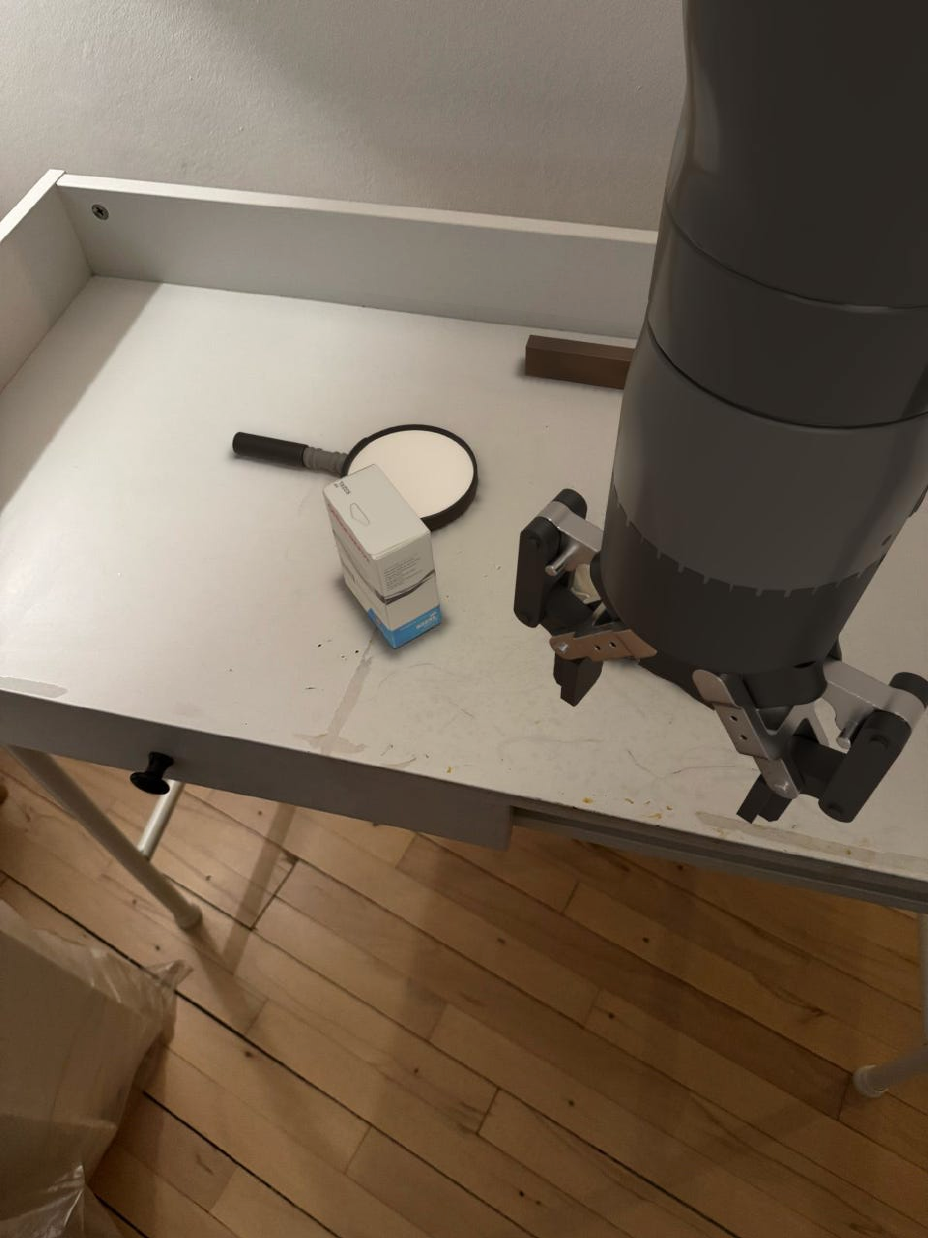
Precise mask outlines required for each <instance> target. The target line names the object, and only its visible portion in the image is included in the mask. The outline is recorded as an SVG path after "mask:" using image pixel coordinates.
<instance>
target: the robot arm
mask: <svg viewBox="0 0 928 1238" xmlns="http://www.w3.org/2000/svg"><path fill="white" fill-rule="evenodd" d="M681 14H682V31H683V32H682V33H683V46H684V55H685V56H684V57H685V59H684V61H685V72H686V73H685V77H686V78H685V79H686V82H685V91H684V97H683V102H682V107H681V111H680V116H679V120H678V124H677V127H676V132H675V136H674V140H673V145H672V150H671V155H670V160H669V166H668V170H667V174H666V181H665V187H664V192H663V200H662V206H661V213H660V218H659V225H658V231H657V238H656V243H655V244H656V245H655V251H654V258H653V264H652V270H651V277H650V282H649V283H650V284H649V289H648V297H647V305H646V308H645V313H644V318H643V322H642V326H641V329H640V333H639V334H638V338H637V341H636V345H635V347H634V348H635V350H634V353H633V357H632V360H631V364H630V367H629V371H628V374H627V378H626V382H625V387H624V389H623V392H622V399H621V406H620V412H619V419H618V426H617V433H616V439H615V440H616V441H615V447H614V455H613V461H612V462H613V463H612V469H611V477H610V483H609V491H608V497H607V503H606V511H605V519H604V524H603V529H601V528H600V527H598V526H596V525H594V523H591V522H590V521H588V520H586V519H587V514H588V504H587V501H586V499H584V497H583V496H582V494H580V493H579V492H578V491H576V490H575V489H572V488H563V489H561V491H559V493H558V494H556V495H555V496H554V498H552V500H550V501H549V503H548V504H547V505H546V506H545V507H544V508H543V509H542V510H541V511H539V513H538V514H537V515H536V516H535V517H534V518H533V519H532V520H531V521H530V522H529V523H528V524H527V525H525V527H524V528H523V529H522V530H521V531H520V534H519V542H518V551H517V552H518V553H517V554H518V555H517V563H516V564H517V566H516V575H515V586H514V587H515V588H514V599H513V608H512V609H513V614H514V615H515V617H516V618H517V619H518V621H519V622H520V623H521V624H523V625H524V626H526V627H528V628H531V629H536V628H538V626H539V625H540V626H541V627H542V628H543V629H544V630H546V631H547V632H548V633H549V635H550V636H551V637H550V638H549V639H548V643H549V646H550V648H551V649H552V651H553V652H554V659H553V669H552V670H553V671H552V676H553V678H554V681H555V683H556V684H557V685H558V686H560V693H559V695H560V696H559V698H560V699H561V700H562V701H564V702H565V703H567V704H568V705H570V706H572V707H573V708H575V707H577V706H578V705H579V704H580V703H581V701H582V700H583V699H584V697H585V696H586V695H587V694H588V693H589V691H590V690H591V689H592V688H593V686H594V685H595V684H596V683H597V682H598V681H599V678H600V677H601V674H602V671H603V666H604V662H607V661H612V660H617V659H622V658H629V657H633V658H634V660H638V666H640V667H641V668H643V669H645V670H646V671H648V672H650V673H651V674H653V675H655V676H656V677H657V678H658V677H659V678H661V679H663V680H666V681H668V682H669V683H672V684H674V685H676V686H677V687H679V688H680V689H681V690H683V691H684V692H685V693H686V694H687V695H689V696H690V697H692V699H694V700H695V701H697V702H698V703H700V704H701V705H704V706H705V707H707V708H709V710H711V711H715V712H716V714H717V716H718V718H719V720H720V722H721V724H722V725H723V727H724V729H725V731H726V733H727V735H728V737H729V738H730V740H731V743H732V744H733V746H734V748H735V750H736V752H737V753H738V754H739V755H744V756H748V757H752V758H753V760H754V762H755V764H756V766H757V768H758V770H759V772H760V774H759V775H758V776H757V778H756V779H755V781H754V782H753V784H752V786H751V788H750V790H749V791H748V793H747V794H746V796H745V798H744V800H743V801H742V803H741V805H740V806H739V808H738V810H737V812H736V813H735V815H736V816H738V817H739V818H741V819H743V820H744V821H746V822H747V823H748V824H750V825H753V823H754V822H755V820H756V818H757V817H758V816H759V817H760V818H762V819H763V820H765V821H767V822H768V823H772V822H778V821H779V820H780V818H781V817H782V815H783V814H784V812H785V811H786V810H787V809H788V807H789V806H790V804H791V803H792V801H793V800H795V799H797V798H798V796H799V795H805V796H809V797H811V798H815V799H817V800H818V801H817V805H818V807H819V809H820V810H821V812H823V814H825V815H826V816H828V817H829V818H830V819H832V820H834V821H836V822H839V823H843V824H851V823H852V822H854V820H855V818H856V817H857V816H858V814H859V813H860V811H861V810H862V809H863V807H865V805H866V803H867V802H868V801H869V799H870V797H871V796H872V794H873V793H874V792H875V790H876V789H877V788H878V786H879V785H880V783H881V782H882V781H883V779H884V778H885V776H886V775H887V774H888V772H889V770H890V769H891V768H892V766H893V765H894V764H895V762H896V761H897V759H898V758H899V756H900V755H901V753H902V752H903V750H904V748H905V746H907V743H908V741H909V739H910V737H911V736H912V734H913V733H914V731H915V729H916V727H917V726H918V724H919V722H920V720H921V719H922V717H923V716H924V713H925V712H926V710H927V708H928V680H927V679H926V678H925V677H923V676H921V675H919V674H917V673H913V672H909V671H901V672H897V673H895V674H894V675H893V676H892V678H891V679H890V681H889V683H888V684H887V683H885V682H882V681H881V680H879V679H877V678H875V677H873V676H871V675H869V674H867V673H866V672H863V671H861V670H860V669H857V668H855V667H853V666H851V665H849V664H847V663H845V662H843V653H842V648H841V644H840V634H841V632H842V630H843V629H844V627H845V626H846V624H847V622H848V621H849V619H850V618H851V615H852V614H853V612H854V610H855V609H856V607H857V605H858V604H859V602H860V600H861V599H862V597H863V595H864V593H865V592H866V590H867V589H868V586H869V585H870V583H871V581H872V579H873V578H874V577H875V575H876V573H877V571H878V570H879V568H880V566H881V565H882V563H883V561H884V560H885V558H886V556H887V555H888V552H889V551H890V550H891V548H892V546H893V544H894V543H895V541H896V540H897V537H899V534H900V532H901V531H902V529H903V527H904V525H905V524H906V523H907V521H908V519H909V518H911V517H912V516H913V515H914V514H915V513H917V512H918V511H919V509H920V507H921V506H922V504H923V502H924V500H925V498H926V496H927V493H928V0H681ZM579 564H587V565H590V578H591V581H592V583H593V585H594V587H595V589H596V591H597V593H598V595H596V596H593V597H590V598H587V599H585V600H584V601H581V600H580V599H579V598H578V597H577V596H576V595H575V594H573V593H572V592H571V591H570V590H571V588H572V587H573V582H574V577H575V572H576V568H577V567H578V565H579ZM820 698H821V699H823V700H824V701H826V703H828V705H830V706H831V707H832V709H833V711H834V713H835V716H834V723H835V725H836V727H837V728H838V729H839V731H840V732H839V733H838V735H837V737H836V739H835V742H836V744H837V745H838V746H839V747H840V748H842V749H844V750H848V751H847V752H843V751H840V750H838V749H835V748H833V747H830V742H829V740H828V737H827V735H826V732H825V731H824V728H823V726H822V724H821V722H820V719H819V717H818V716H817V713H816V711H815V703H816V701H817V700H819V699H820Z"/></svg>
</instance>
